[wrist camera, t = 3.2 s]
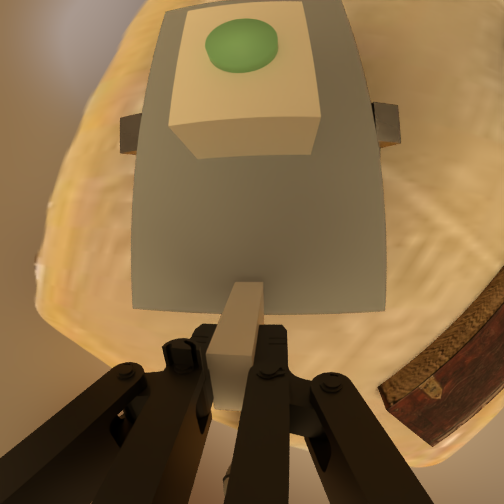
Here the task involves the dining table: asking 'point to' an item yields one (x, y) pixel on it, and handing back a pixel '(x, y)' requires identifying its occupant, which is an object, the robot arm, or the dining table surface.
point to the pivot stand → (382, 112)
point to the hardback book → (453, 371)
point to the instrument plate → (258, 163)
